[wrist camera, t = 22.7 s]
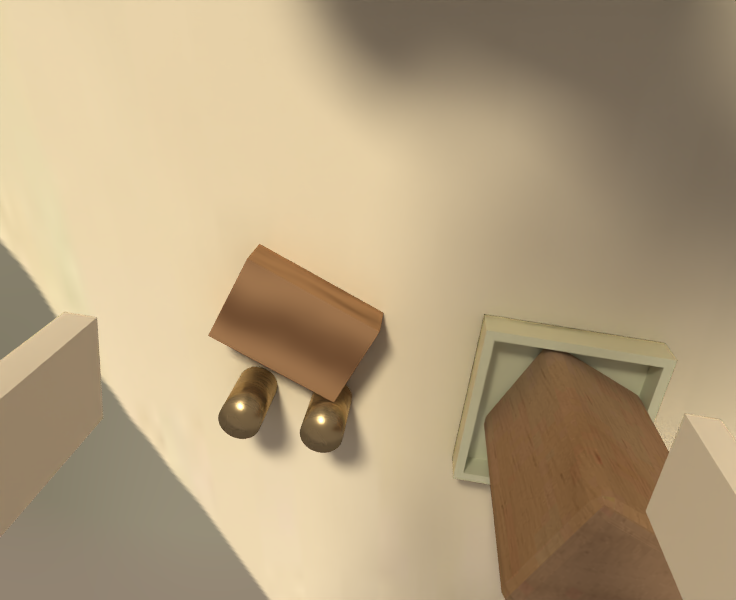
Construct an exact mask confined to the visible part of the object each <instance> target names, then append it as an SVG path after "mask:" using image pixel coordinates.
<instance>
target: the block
mask: <svg viewBox="0 0 736 600" xmlns="http://www.w3.org/2000/svg"><path fill="white" fill-rule="evenodd" d="M484 430H485V440H486V449H487V458H488V468H489V477H490V487H491V496H492V506H493V515H494V524H495V534H496V543H497V553H498V562H499V572H500V581H501V591H502V594H503V596H504V598H505V600H683V599H682V597H681V594H680V592H679V590H678V587H677V585H676V582H675V580H674V578H673V575H672V573H671V570H670V568H669V566H668V563H667V561H666V559H665V556H664V554H663V551H662V549H661V547H660V544H659V542H658V540H657V537H656V535H655V532H654V530H653V528H652V525H651V523H650V520H649V518H648V516H647V513H646V509H647V506H648V504H649V501H650V499H651V496H652V494H653V491H654V489H655V486H656V484H657V481H658V479H659V476H660V474H661V471H662V469H663V466H664V464H665V461H666V459H667V456H668V454H669V451H668V450H667V448H666V446H665V444H664V442H663V440H662V438H661V436H660V435H659V433H658V431H657V429H656V427H655V425H654V423H653V421H652V420H651V418H650V416H649V414H648V412H647V410H646V408H645V406H644V405H643V403H642V401H641V399H640V398H639V396H638V395H637V394H635V393H633V392H632V391H630V390H629V389H627V388H625V387H624V386H622V385H620V384H619V383H617V382H615V381H614V380H612V379H611V378H609V377H607V376H606V375H604V374H602V373H601V372H599V371H597V370H596V369H594V368H593V367H591V366H589V365H588V364H586V363H584V362H583V361H581V360H580V359H578V358H576V357H575V356H573V355H571V354H570V353H568V352H563V351H556V350H550V349H543V350H542V351H541V352H540V353H539V355H538V356H537V357H536V358H535V359H534V360H533V362H532V363H531V364H530V365H529V366H528V368H527V369H526V370H525V371H524V372H523V373H522V375H521V376H520V377H519V378H518V379H517V380H516V382H515V383H514V384H513V385H512V386H511V387H510V389H509V390H508V391H507V392H506V393H505V395H504V396H503V397H502V398H501V399H500V400H499V402H498V403H497V404H496V405H495V406H494V407H493V409H492V410H491V411H490V412H489V413H488V415H487V416H486V418H485V422H484Z"/></svg>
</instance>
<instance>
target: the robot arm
mask: <svg viewBox="0 0 736 600" xmlns="http://www.w3.org/2000/svg"><path fill="white" fill-rule="evenodd" d="M102 419H103V406H102V390H101V374H100V358H99V341H98V325H97V317H92V316H86V315H80V314H74V313H68V312H64V313H62V314H61V315H60V316H58V317H57V318H56V319H54V320H53V321H52V322H51V323H49V324H48V325H47V326H45V327H44V328H43V329H41V330H40V331H39V332H37V333H36V334H35V335H33V336H32V337H31V338H29V339H28V340H27V341H25V342H24V343H23V344H21V345H20V346H19V347H18V348H16V349H15V350H13V351H12V352H11V353H10V354H8V355H7V356H6V357H4V358H3V359H2V360H0V537H1V536H2V535H3V534H4V533H5V531H6V530H7V529H8V528H9V527H10V526H11V524H12V523H13V522H14V521H15V520H16V518H17V517H18V516H19V515H20V514H21V513H22V511H24V509H25V508H26V507H27V506H28V505H29V504H30V502H31V501H32V500H33V499H34V498H35V496H36V495H37V494H38V493H39V492H40V491H41V490H42V488H43V487H44V486H45V485H46V484H47V483H48V482H49V480H50V479H51V478H52V477H53V476H54V475H55V473H56V472H57V471H58V470H59V469H60V467H61V466H62V465H63V464H64V463H65V462H66V461H67V459H68V458H69V457H70V456H71V455H72V454H73V453H74V451H75V450H76V449H77V448H78V447H79V445H80V444H81V443H82V442H83V441H84V440H85V439H86V437H87V436H88V435H89V434H90V433H91V432H92V431H93V429H94V428H95V427H96V426H97V425H98V424H99V422H100V421H101V420H102ZM646 513H647V516H648V518H649V520H650V523H651V525H652V528H653V530H654V532H655V535H656V537H657V540H658V542H659V544H660V547H661V549H662V551H663V554H664V556H665V559H666V561H667V563H668V566H669V568H670V570H671V573H672V575H673V578H674V580H675V582H676V585H677V587H678V590H679V592H680V594H681V597H682V599H683V600H736V440H735V439H734V437H733V436H732V435H731V433H730V432H729V430H728V429H727V427H726V426H725V425H724V423H723V422H722V420H721V419H716V418H709V417H703V416H697V415H691V414H684V417H683V419H682V422H681V424H680V427H679V429H678V432H677V434H676V437H675V439H674V442H673V444H672V446H671V449H670V451H669V454H668V456H667V459H666V461H665V464H664V466H663V469H662V471H661V474H660V476H659V479H658V481H657V484H656V486H655V489H654V491H653V494H652V496H651V499H650V501H649V504H648V506H647V509H646Z"/></svg>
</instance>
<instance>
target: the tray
mask: <svg viewBox="0 0 736 600" xmlns="http://www.w3.org/2000/svg"><path fill="white" fill-rule="evenodd" d="M543 349H550V350H556V351H563V352H568V353H570V354H571V355H573V356H575V357H576V358H578V359H580V360H581V361H583V362H584V363H586V364H588V365H589V366H591V367H593V368H594V369H596V370H597V371H599V372H601V373H602V374H604V375H606V376H607V377H609V378H611V379H612V380H614V381H615V382H617V383H619V384H620V385H622V386H624V387H625V388H627V389H629V390H630V391H632V392H633V393H635V394H637V395H638V396H639V398H640V399H641V401H642V403H643V405H644V406H645V408H646V410H647V412H648V414H649V416H650V418H651V420H652V421H653V423H654V421H655V418H656V415H657V413H658V410H659V408H660V405H661V402H662V400H663V397H664V394H665V392H666V389H667V386H668V384H669V381H670V379H671V376H672V373H673V371H674V368H675V365H676V363H677V360H676V358H675V357H674V355H673V354H672V352H671V351H670V350H669V348H668V347H667V345H666V344H665V343H661V342H655V341H649V340H642V339H636V338H630V337H624V336H617V335H611V334H605V333H598V332H592V331H586V330H579V329H573V328H567V327H560V326H554V325H548V324H542V323H535V322H529V321H523V320H516V319H510V318H504V317H497V316H491V315H485V314H484V318H483V323H482V327H481V332H480V336H479V341H478V345H477V350H476V354H475V358H474V363H473V367H472V372H471V376H470V381H469V385H468V390H467V394H466V399H465V403H464V408H463V412H462V416H461V421H460V425H459V430H458V434H457V439H456V443H455V448H454V452H453V457H452V465H453V479H459V480H465V481H471V482H477V483H483V484H488V485H490V477H489V468H488V458H487V449H486V440H485V430H484V422H485V418H486V416H487V415H488V413H489V412H490V411H491V410H492V409H493V407H494V406H495V405H496V404H497V403H498V402H499V400H500V399H501V398H502V397H503V396H504V395H505V393H506V392H507V391H508V390H509V389H510V387H511V386H512V385H513V384H514V383H515V382H516V380H517V379H518V378H519V377H520V376H521V375H522V373H523V372H524V371H525V370H526V369H527V368H528V366H529V365H530V364H531V363H532V362H533V360H534V359H535V358H536V357H537V356H538V355H539V353H540V352H541V351H542V350H543Z"/></svg>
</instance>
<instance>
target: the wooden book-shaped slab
mask: <svg viewBox="0 0 736 600" xmlns="http://www.w3.org/2000/svg"><path fill="white" fill-rule="evenodd" d="M382 317H383V312H381V311H379V310H377V309H376V308H374V307H372V306H370V305H368V304H367V303H365V302H363V301H361V300H359V299H358V298H356V297H354V296H352V295H350V294H349V293H347V292H345V291H343V290H342V289H340V288H338V287H336V286H334V285H333V284H331V283H329V282H327V281H325V280H324V279H322V278H320V277H318V276H316V275H315V274H313V273H311V272H309V271H307V270H306V269H304V268H302V267H300V266H298V265H297V264H295V263H293V262H291V261H289V260H288V259H286V258H284V257H282V256H280V255H279V254H277V253H275V252H273V251H271V250H270V249H268V248H266V247H264V246H262V245H261V244H259V245H258V247H257V248H256V249H255V250H254V251H253V252H252V254H251V255H250V256H249V257H248V258H247V260H246V262H245V264H244V266H243V268H242V270H241V272H240V274H239V276H238V278H237V280H236V282H235V284H234V286H233V288H232V290H231V292H230V294H229V296H228V298H227V300H226V302H225V304H224V306H223V308H222V310H221V312H220V314H219V316H218V318H217V320H216V321H215V323H214V325H213V327H212V329H211V331H210V333H209V335H208V336H210V337H212V338H214V339H216V340H217V341H219V342H221V343H223V344H225V345H227V346H229V347H231V348H232V349H234V350H236V351H238V352H240V353H242V354H244V355H246V356H247V357H249V358H251V359H253V360H255V361H257V362H259V363H261V364H262V365H264V366H266V367H268V368H270V369H272V370H274V371H276V372H277V373H279V374H281V375H283V376H285V377H287V378H289V379H291V380H292V381H294V382H296V383H298V384H300V385H302V386H304V387H306V388H307V389H309V390H311V391H313V392H315V393H317V394H319V395H321V396H322V397H324V398H326V399H328V400H330V401H332V402H334V401H335V400H336V398H337V397H338V395H339V394H340V392H341V390H342V389H343V387H344V386H345V384H346V383H347V381H348V380H349V378H350V377H351V375H352V373H353V372H354V370H355V369H356V367H357V366H358V364H359V363H360V361H361V360H362V358H363V357H364V355H365V353H366V352H367V350H368V349H369V347H370V346H371V344H372V343H373V341H374V340H375V338H376V336H377V335H378V333H379V332H380V327H381V322H382Z"/></svg>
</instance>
